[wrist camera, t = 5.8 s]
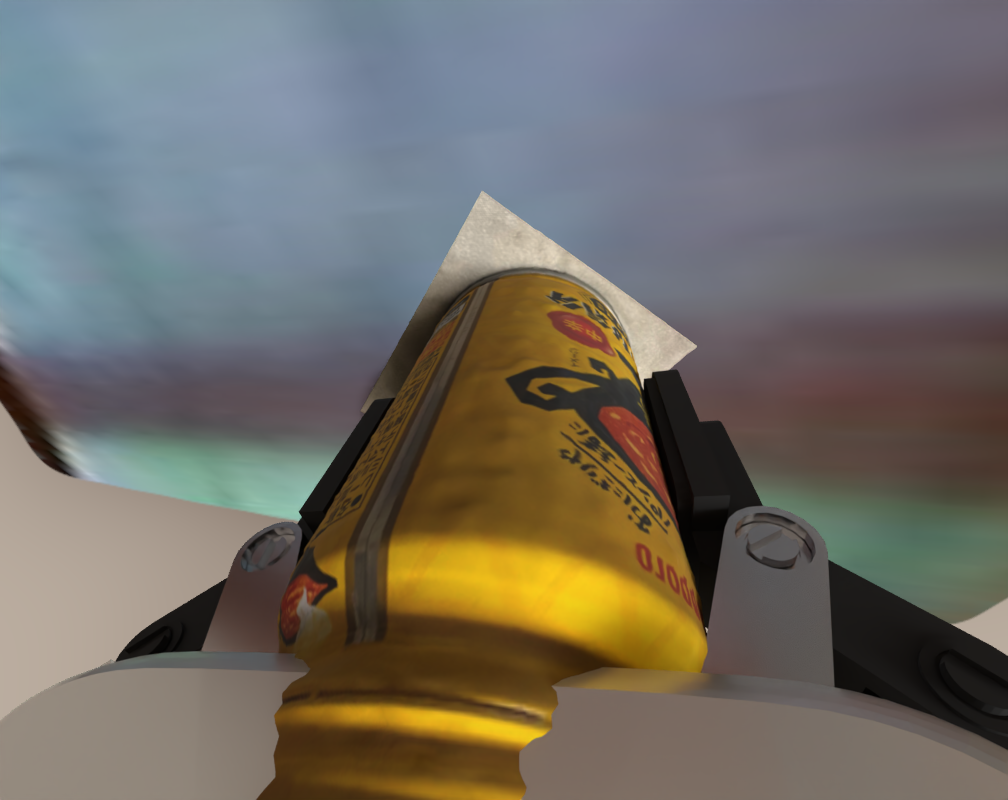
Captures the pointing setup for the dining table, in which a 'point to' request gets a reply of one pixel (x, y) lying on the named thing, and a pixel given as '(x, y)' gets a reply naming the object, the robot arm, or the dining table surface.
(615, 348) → the condiment
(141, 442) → the dining table surface
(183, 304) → the dining table surface
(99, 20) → the dining table surface
